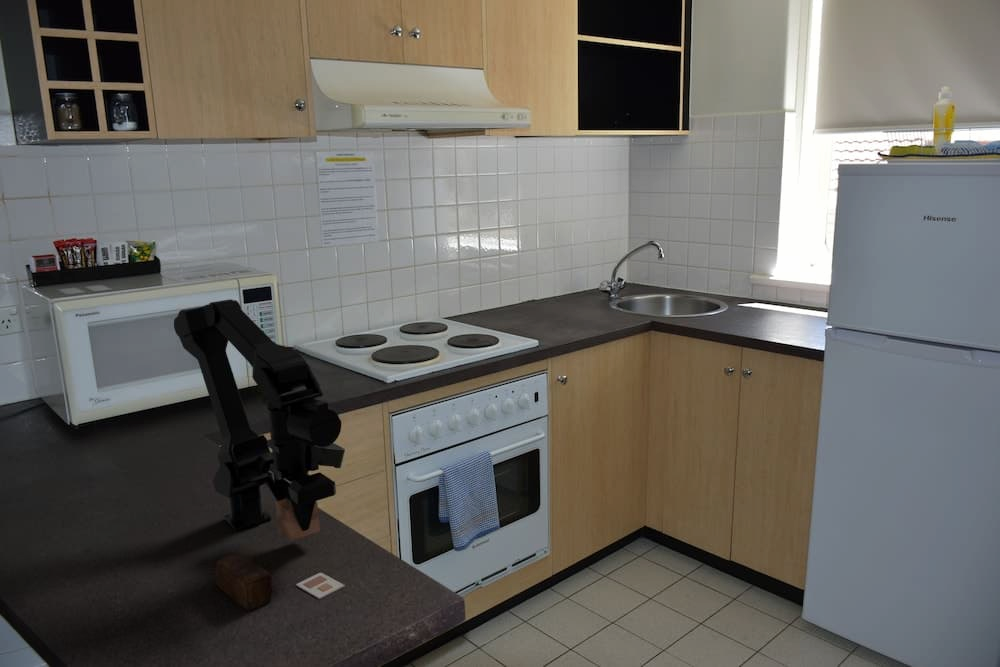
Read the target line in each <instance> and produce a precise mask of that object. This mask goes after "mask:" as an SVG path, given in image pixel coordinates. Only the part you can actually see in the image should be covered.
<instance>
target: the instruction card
mask: <svg viewBox="0 0 1000 667" xmlns="http://www.w3.org/2000/svg"><path fill="white" fill-rule="evenodd" d="M295 586H296V587H297V588H299V589H301V590H303V591H304V592H305V593H307V594H309V595H311V596H313V597H315V598H316V599H319V600H321V599H323V598H325V597H327V596H328V595H330V594H333V593H335V592H336V591H338V590H340V589H342V588H345V587H346V586H345V584H344V583H341V582H339V581H337V580H335V579H334V578H332V577H330V576H328V575H326V574H325V573H323V572H319V573H317V574H315V575H311V576H310V577H308V578H306V579H304V580H302V581H300V582H298V583H296V584H295Z"/></svg>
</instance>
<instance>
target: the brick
mask: <svg viewBox="0 0 1000 667" xmlns="http://www.w3.org/2000/svg"><path fill="white" fill-rule="evenodd" d="M213 573H214V577H215V578H214V579H215V580H214V581H215V583H216V585H217V586H218V587H219V588H220V589H221V590H222V592H224V593H225V594H226V595H227V594H228V595H227V596H229V597H230V598H231V597H232V598H231V599H232V600H234V601H235V600H236V601H237V602H238V603H237V602H236V601H235V602H236V603H237V604H238V605H240V604H241V605H242V606H241V605H240V606H241V607H243V608H244V609H245V608H246V609H247V610H246V609H245V610H246V611H248V612H252V611H254V610H257V609H259V608H261V607H263V606H265V605H268V604H270V603H271V602H272V594H273V591H274V589H273V587H272V586H273V585H272V577H271V575H270V573H269V571H268V570H265V569H263V568H262V567H261V566H259V565H258V564H256V563H255V562H253V561H252V560H251V559H249V558H248V557H246V556H244V555H242V554H235V555H229V556H224V557H222V558H221V559H219V560H217V561H216V566H215V567H214V570H213ZM267 603H268V604H267ZM258 607H259V608H258ZM256 608H257V609H256ZM251 610H252V611H251Z"/></svg>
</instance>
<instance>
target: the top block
mask: <svg viewBox="0 0 1000 667" xmlns="http://www.w3.org/2000/svg"><path fill="white" fill-rule="evenodd" d="M318 506H319V505H318V501H316V503H315V506H314V509H313V514H312V518H311V522H310V527H309V529H308V530H306V531H302V530H301V528H300V526H299V524H298V522H297V520H296V518H295V516H294V514H293V512H292V510H291V508H290V506H289V504H288V502H287V500H286V499H283V500H280V501H277V500H276V501H275V508H276V510H275V511H276V520H277V527H278V528H277V529H278V531H279V532H280V533H281V534H283V536H285V537H286V538H287V539H288V540H289V541H291V542H292V541H294V540H298V539H300V538H304V537H306V536H309V535H312V534H315V533H318V532H321V528H320V527H321V526H320V517H319V516H320V515H319V507H318Z"/></svg>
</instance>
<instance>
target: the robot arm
mask: <svg viewBox="0 0 1000 667" xmlns="http://www.w3.org/2000/svg"><path fill="white" fill-rule="evenodd" d="M173 329H174V332H175V334H176V335H177V336H178V338H179V340H180V343H181V345H182V347H183V349H184V350H185V351H186V352H188V353H189V354H190V355H191V356H192V357H194V358H195V359H196V360H197V362H198V364H199V368H200V371H201V375H202V377H203V381H204V384H205V387H206V390H207V394H208V398H209V399H210V402H211V406H212V410H213V412H214V417H215V418H216V421H217V425H218V428H219V431H220V434H221V438H222V440H221V443H220V447H219V451H218V454H217V457H218V461H219V462H218V463H219V468H218V469H217V471H216V473H215V475H214V476H213V479H212V484H213V487H214V490H215V493H218V494H220V495H221V496H224V497H226V498H227V501H228V510H229V514H225V515H224V516H223V519H224V521H226V522H227V524H228V525H230V526H231V527H232V528H233V529H234V531H239V530H242V529H245V528H246V529H247V528H249V527H251V526H254V525H258V524H261V523H264V522H267V521H270V520H272V516H271V514H269V513H268V512H267V511H266V510H265V509H264V502H263V501H264V500H263V491H262V486H264V485H266V486H267V487H268V489H269V490H270V492H271V494H272V495H273V496H274V498H275V500H276V501H280V500H283V499H286V500H287V502H288V504H289V506H290V508H291V510H292V512H293V514H294V516H295V518H296V520H297V522H298V524H299V526H300V528H301V530H302V531H306V530H308V529H309V527H310V522H311V518H312V514H313V509H314V506H315V503H316V502H318V501H321V500H324V499H327V498H330V497H334V496H335V495H336V494H337V490H336V489H337V488H336V482H335V481H334V480H332V479H331V478H330V477H328V476H327V475H325V474H323V473H322V472H321V471H320V472H316V473H312V474H309V472H315V471H318V470H320V468H319V466H320V467H331V468H332V467H333V468H334V469H341V468H342V464H343V461H344V456H345V451H346V448H344V447H341V446H340V445H338V444H336V443H335V441H336V440H338V438H339V436H340V434H341V432H342V420H341V419H340V416H339V415H338V413H337V412H336V411H334V410H332V409H329V403H328V401H327V400H323V399H321V400H318V399H319V398H322V397H323V395H324V393H323V392H322V389H321V384H320V383H319V381H318V379H317V377H316V376H315V374H314V373H313V372H312V369H311V368H310V365H309V363H308V362H307V360H306V359H305V358H304V356H302V355H301V354H300V353H299V352H297V351H295V350H294V349H293V348H291V347H289V346H285V345H282V344H278V343H276V342H274V341H273V340H272V339H271V338H270V337H269V336H268V335H267V334H266V333H265V331H263V330H262V329H261V328H260V327H259V325H257V324H256V322H254V320H253V319H252V318H251V317H249V316H248V315H247V314H246V312H244V311H243V309H242V307H241V304H240V303H239V302H238V300H234V299H224V300H217V301H212V302H209V303H208V304H205V305H202V306H196V307H192V308H191V307H190V308H187V309H181V310H179V312H178V314H177V316H175V318H174V319H173ZM229 343H230V344H231V345H232V346H233V347H234V348H235V349H236V350H237V352H239V354H240V355H242V357H243V358H244V359H245V360H246V361H247V363H249V364H250V366H251V369H252V370H251V371H252V373H251V374H252V375H251V377H252V379H253V381H254V382H255V384H256V385H257V388H258V389H259V390H260V391H261V393H262V394H263V395H264V396H263V397H262V398H260V403H261V404H262V405H265V406H267V414H268V423H269V424H268V425H269V433H270V434H269V435H270V439H267V438H266V436H265V435H264V434H261V435H259V434H258V433H257V432H255V431H254V430H253V429H252V427H251V425H250V422H249V419H248V417H247V416H248V415H247V413H246V410H245V407H244V403H243V400H242V398H241V394H240V391H239V388H238V385H237V382H236V379H235V374H234V372H233V369H232V366H231V363H230V360H229V357H228V354H227V348H228V344H229ZM303 388H305V389H303ZM297 390H298V391H297ZM293 391H294V392H293ZM289 392H290V393H289ZM270 449H271V450H270Z"/></svg>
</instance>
